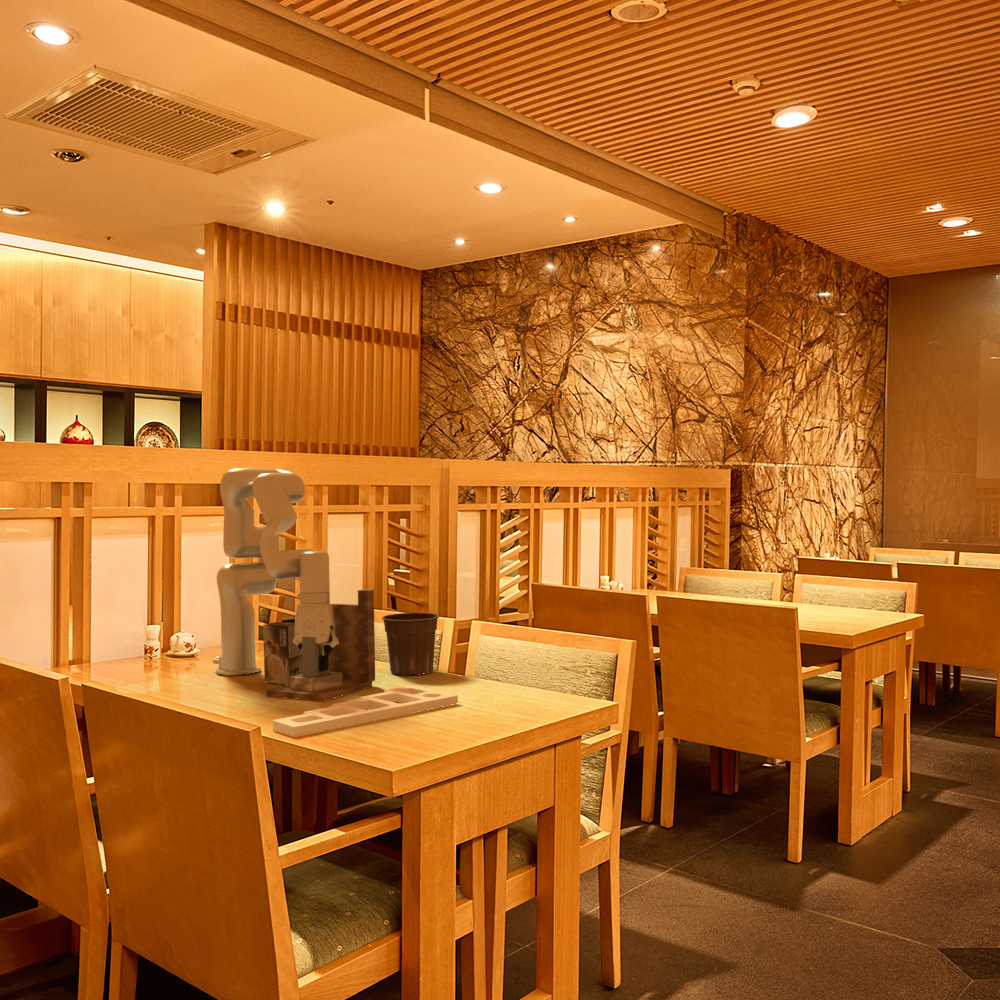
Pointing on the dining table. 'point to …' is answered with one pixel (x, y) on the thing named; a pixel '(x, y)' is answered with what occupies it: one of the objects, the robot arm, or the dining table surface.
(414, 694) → the holder
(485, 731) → the dining table surface
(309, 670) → the plain rectangular block
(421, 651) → the plant pot
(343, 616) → the wooden display stand
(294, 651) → the coffee box
